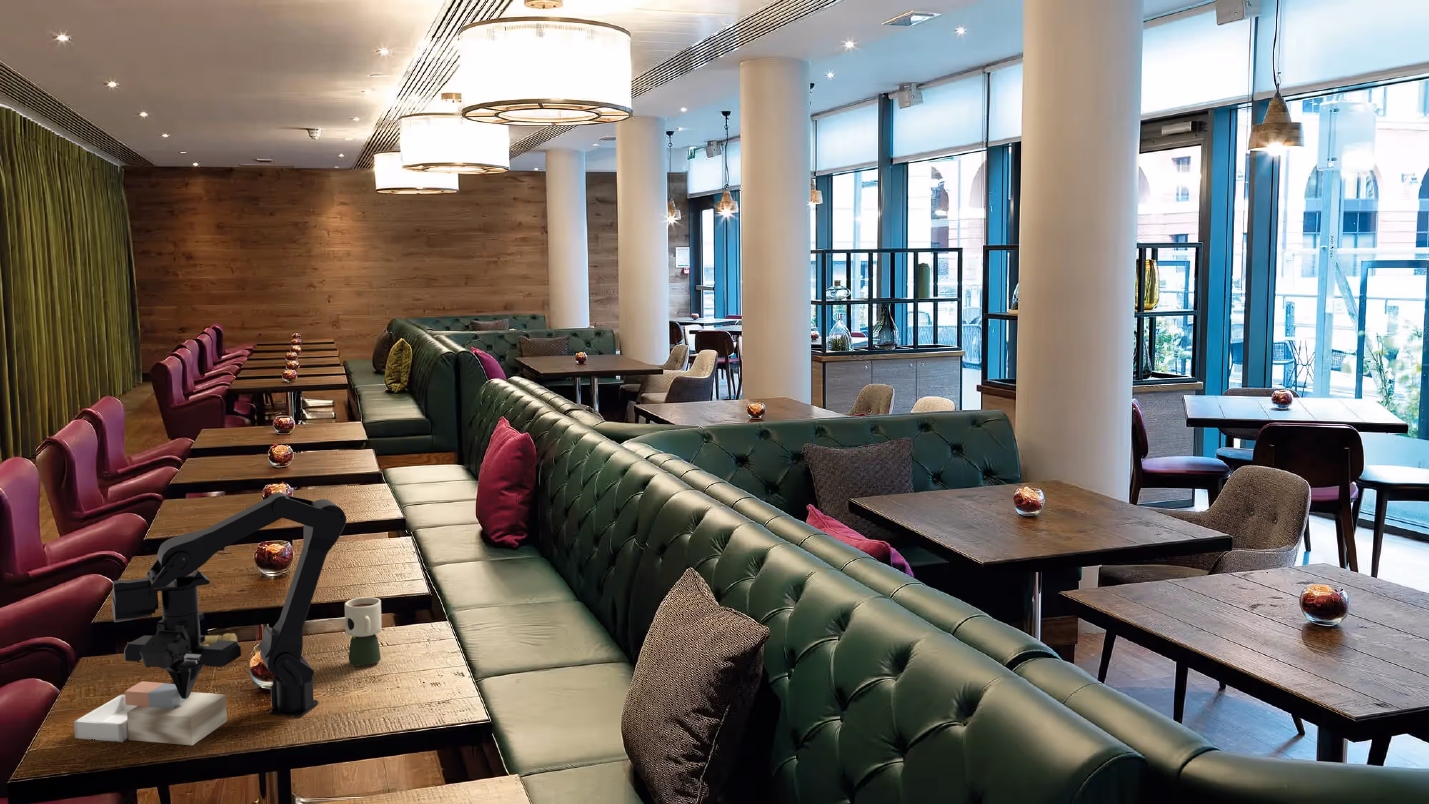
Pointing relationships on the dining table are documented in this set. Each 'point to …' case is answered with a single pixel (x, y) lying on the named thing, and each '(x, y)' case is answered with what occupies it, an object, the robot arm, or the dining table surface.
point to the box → (105, 722)
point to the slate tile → (165, 697)
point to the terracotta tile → (140, 693)
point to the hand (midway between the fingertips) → (185, 698)
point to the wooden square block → (178, 720)
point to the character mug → (363, 629)
